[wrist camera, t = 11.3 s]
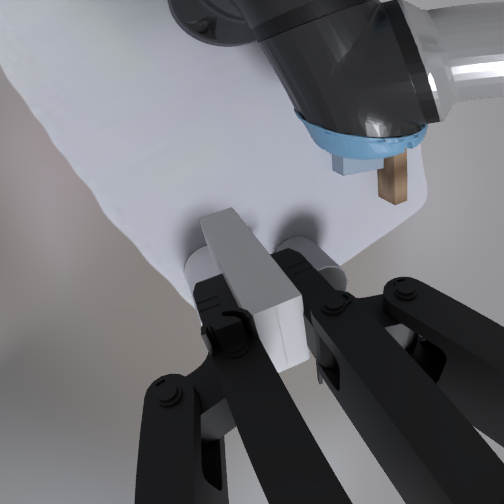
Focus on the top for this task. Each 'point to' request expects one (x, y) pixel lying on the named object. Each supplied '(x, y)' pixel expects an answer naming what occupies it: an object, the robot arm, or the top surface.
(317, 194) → the top surface
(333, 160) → the block
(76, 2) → the top surface
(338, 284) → the cup
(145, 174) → the top surface
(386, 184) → the brown wooden bar
